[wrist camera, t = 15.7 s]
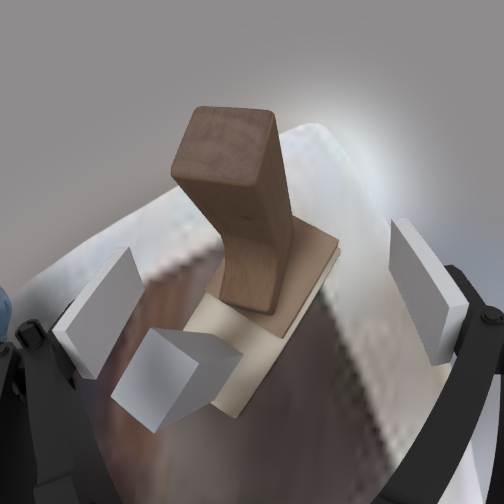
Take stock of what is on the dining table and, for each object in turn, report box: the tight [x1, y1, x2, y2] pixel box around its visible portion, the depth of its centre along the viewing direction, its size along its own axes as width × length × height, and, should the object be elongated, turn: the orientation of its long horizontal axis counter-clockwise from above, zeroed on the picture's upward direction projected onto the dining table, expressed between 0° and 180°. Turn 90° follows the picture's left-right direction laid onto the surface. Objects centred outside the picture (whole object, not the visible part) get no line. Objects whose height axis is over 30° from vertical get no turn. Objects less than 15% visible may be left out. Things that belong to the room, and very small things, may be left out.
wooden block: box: [171, 106, 294, 316], centre depth 23 cm, size 9×4×18 cm, turn 166°
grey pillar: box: [111, 328, 244, 433], centre depth 25 cm, size 4×6×14 cm, turn 148°
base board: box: [183, 215, 341, 419], centre depth 33 cm, size 10×21×4 cm, turn 148°
